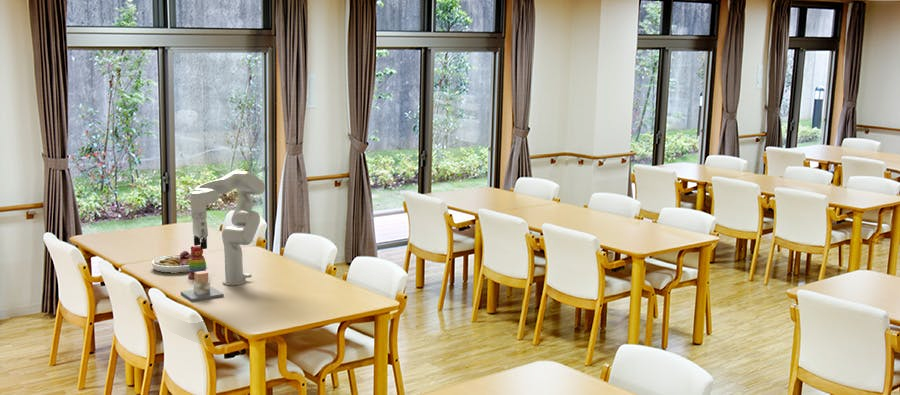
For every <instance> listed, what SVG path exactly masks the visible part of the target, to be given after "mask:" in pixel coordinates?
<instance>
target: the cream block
mask: <svg viewBox="0 0 900 395" xmlns="http://www.w3.org/2000/svg"><path fill="white" fill-rule="evenodd" d="M210 287H211V283H210V281H209V282H206V283H199V284H198V283H197V282H195V280H193V290H194V293H196V294H197V295H202V294H208V293H210Z"/></svg>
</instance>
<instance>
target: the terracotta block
mask: <svg viewBox="0 0 900 395" xmlns="http://www.w3.org/2000/svg"><path fill="white" fill-rule="evenodd" d="M194 277H195V279H194V281H195V282H197V283H198V284H199V283H206V282H210V280H209V272H207V270H206V271H198V272H194Z"/></svg>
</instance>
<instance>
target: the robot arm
mask: <svg viewBox="0 0 900 395" xmlns="http://www.w3.org/2000/svg"><path fill="white" fill-rule="evenodd" d="M234 189H235V190H236V193H237V197H238V201H237V204H236V206H235V208H234V211H233V213H232V215H231V221H230V222H231V224H232V225H233V226H231V225H230V226H226V227H225V228H224V229H223V230H222V231H221V240H222V244H223V249H224V273H225V279H223V280H222V284H223V285H226V286H239V285H243V284H246V282H247V279H248V278H252V275H253V274H251V273H244V270H243V268H244V266H243V250H242V247H241V246H249V245H251V244H252V242H253V240H254V238H255V236H256V234H257V230H258V228H259V226H260V223H261V216H260V214H259V212H257V211H256V210H253V207H254V202H253V199H252V197H251V195H254V196H255V195H257V196H258V195H262V194H263V193H264V192H265V189H266V185H265V183H264V181H263V180H262V179H261V178H260V177H258V176H257V175H255V174H253V173H252V172H250V171H245V170H243V171H242V170H241V171H240V170H233V171H231V172H229V173H227V174H225V175H224V176H222V177H221V178H218V179H214V180H212V181H208V182H204V183H202V184H200V185H198V186H196V187H195V188H194V189H193V190H192V192H190V198H189V199H190V210H191V211H190V213H191V215H190V216H191V219H192V234H193V245H194V246H201V249H203V250H207V249H208V237H209V232H208V230H209V229H208V224H207V223H208V222H207V204H208V205H209V204H210V205H211V204H215V203H216V202H217V201H218V200H219V199H220V198H219V197H220V195H225V194H228V193H230V192H231V191H233V190H234Z"/></svg>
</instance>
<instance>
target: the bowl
mask: <svg viewBox="0 0 900 395" xmlns="http://www.w3.org/2000/svg"><path fill="white" fill-rule="evenodd" d="M191 257H192V254H191V252H190V253H189V251H188V250H184V251H183V250H182V251H181V253H180V254H173V255H165V256H161V257H157V258H155V259H153V260H152V261H151V265H152V269H154V270H155V271H156V272H159V271H161V272H160V273H162V272H173V273H172V274H176V273H175V272H186V273H189V272H188V271H190V269H189V263H190V258H191Z"/></svg>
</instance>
